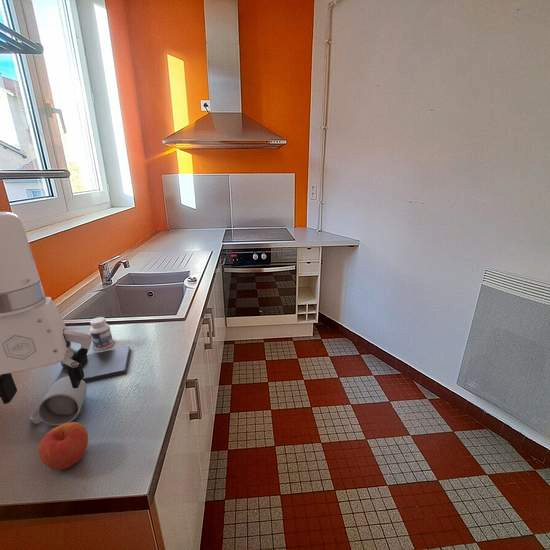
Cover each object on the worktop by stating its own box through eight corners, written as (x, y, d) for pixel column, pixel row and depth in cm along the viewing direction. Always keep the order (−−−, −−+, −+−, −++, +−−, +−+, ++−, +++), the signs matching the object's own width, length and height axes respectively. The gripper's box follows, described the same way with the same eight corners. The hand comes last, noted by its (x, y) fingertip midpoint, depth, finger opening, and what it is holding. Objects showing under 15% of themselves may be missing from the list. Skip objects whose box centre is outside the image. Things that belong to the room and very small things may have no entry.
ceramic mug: (91, 394, 72) (83, 368, 70) (83, 420, 65) (74, 391, 63) (40, 407, 69) (29, 380, 67) (25, 435, 62) (13, 405, 59)
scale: (53, 390, 75) (49, 380, 74) (67, 362, 85) (64, 353, 84) (125, 374, 80) (123, 364, 79) (130, 350, 90) (128, 341, 89)
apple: (75, 439, 61) (65, 407, 58) (101, 451, 58) (91, 418, 55) (36, 471, 54) (23, 438, 52) (63, 486, 52) (50, 451, 49)
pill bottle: (91, 346, 93) (84, 321, 90) (107, 339, 97) (101, 314, 94) (99, 352, 90) (92, 325, 87) (116, 344, 94) (110, 318, 91)
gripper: (-82, 318, 39) (-32, 421, 45) (72, 297, 44) (98, 391, 50) (-46, 296, 46) (-7, 388, 51) (84, 280, 51) (106, 365, 57)
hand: (45, 390), depth 51 cm, fingers open, 9 cm apart
